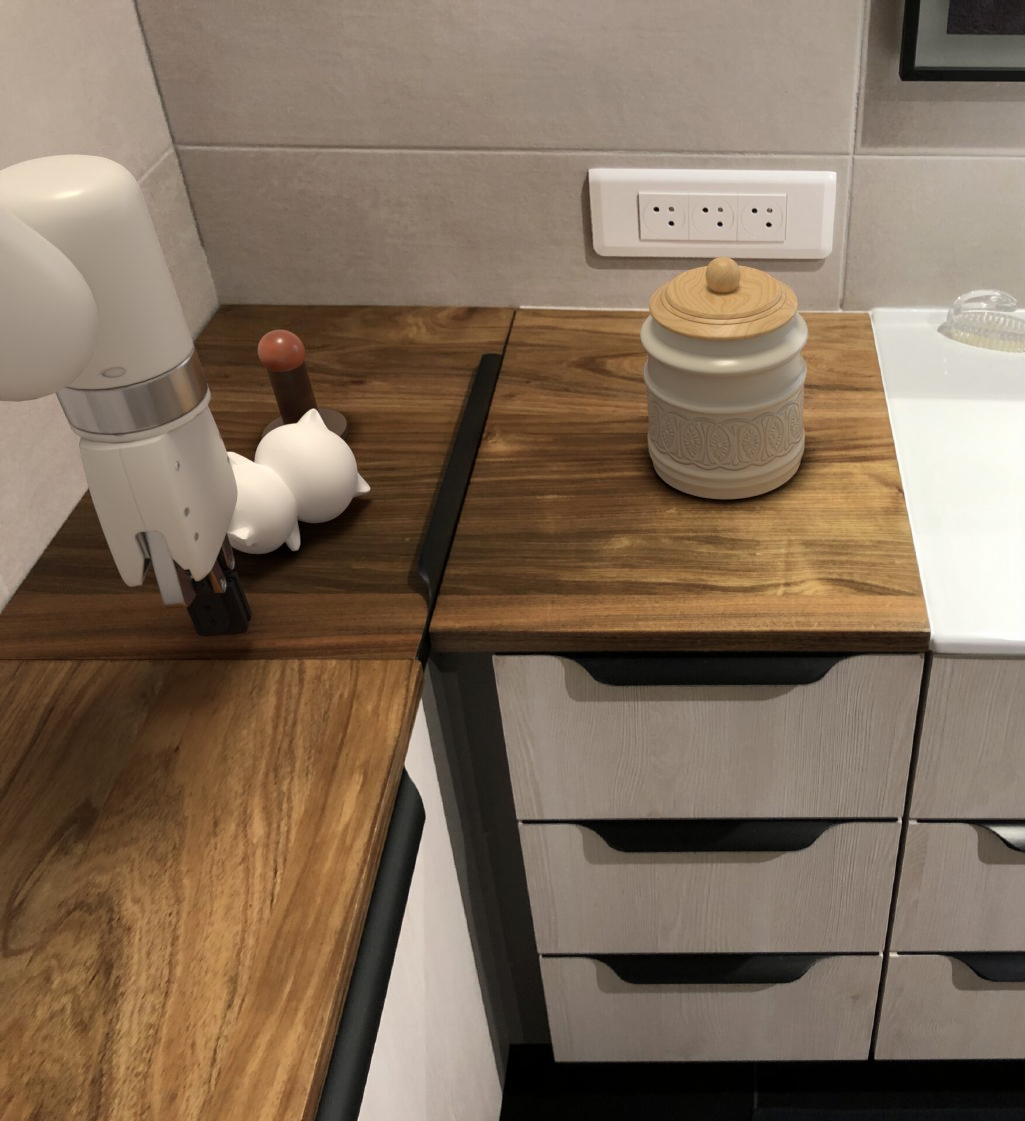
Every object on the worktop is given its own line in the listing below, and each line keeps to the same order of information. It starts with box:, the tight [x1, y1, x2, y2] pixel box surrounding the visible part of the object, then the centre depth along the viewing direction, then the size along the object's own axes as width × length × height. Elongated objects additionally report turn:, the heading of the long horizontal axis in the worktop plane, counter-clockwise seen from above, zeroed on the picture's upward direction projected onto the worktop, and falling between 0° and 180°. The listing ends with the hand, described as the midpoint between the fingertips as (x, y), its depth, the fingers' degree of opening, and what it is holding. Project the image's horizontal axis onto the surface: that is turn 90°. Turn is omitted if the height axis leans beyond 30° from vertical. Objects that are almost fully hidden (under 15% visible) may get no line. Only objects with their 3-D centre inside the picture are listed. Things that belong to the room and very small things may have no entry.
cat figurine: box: [227, 409, 371, 555], centre depth 86 cm, size 9×11×12 cm
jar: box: [639, 256, 809, 500], centre depth 89 cm, size 13×13×18 cm
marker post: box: [257, 329, 350, 442], centre depth 94 cm, size 7×7×10 cm
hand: (226, 626), depth 75 cm, fingers closed
